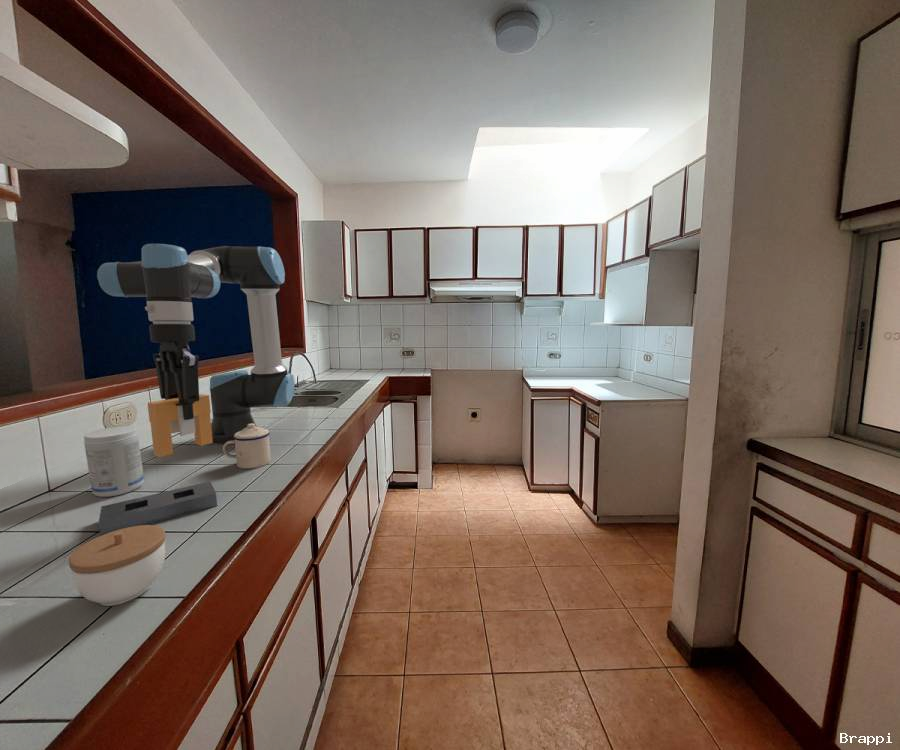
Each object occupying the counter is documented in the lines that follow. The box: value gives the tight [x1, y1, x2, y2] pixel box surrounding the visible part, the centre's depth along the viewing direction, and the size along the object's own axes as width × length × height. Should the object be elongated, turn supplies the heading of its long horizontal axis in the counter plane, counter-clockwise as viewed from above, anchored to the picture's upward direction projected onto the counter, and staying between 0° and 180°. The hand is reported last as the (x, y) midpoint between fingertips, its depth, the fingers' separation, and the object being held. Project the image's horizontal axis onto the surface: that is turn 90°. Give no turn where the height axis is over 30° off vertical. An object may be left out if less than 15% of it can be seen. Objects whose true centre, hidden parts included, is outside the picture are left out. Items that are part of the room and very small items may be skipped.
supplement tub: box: [83, 425, 145, 498], centre depth 90 cm, size 10×10×15 cm
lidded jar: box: [68, 524, 167, 607], centre depth 56 cm, size 11×11×9 cm
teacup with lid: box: [222, 423, 271, 470], centre depth 107 cm, size 12×9×12 cm
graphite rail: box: [98, 480, 218, 537], centre depth 80 cm, size 8×19×3 cm, turn 130°
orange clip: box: [147, 393, 214, 458], centre depth 80 cm, size 10×3×11 cm, turn 152°
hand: (183, 432), depth 81 cm, fingers closed on orange clip, 3 cm apart
